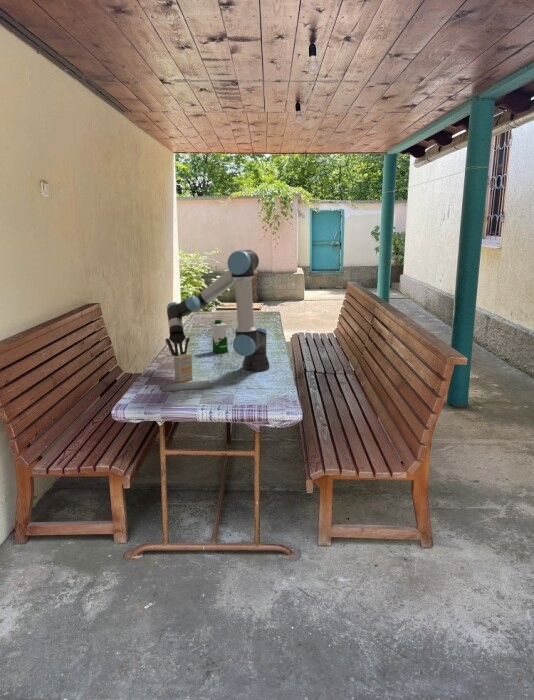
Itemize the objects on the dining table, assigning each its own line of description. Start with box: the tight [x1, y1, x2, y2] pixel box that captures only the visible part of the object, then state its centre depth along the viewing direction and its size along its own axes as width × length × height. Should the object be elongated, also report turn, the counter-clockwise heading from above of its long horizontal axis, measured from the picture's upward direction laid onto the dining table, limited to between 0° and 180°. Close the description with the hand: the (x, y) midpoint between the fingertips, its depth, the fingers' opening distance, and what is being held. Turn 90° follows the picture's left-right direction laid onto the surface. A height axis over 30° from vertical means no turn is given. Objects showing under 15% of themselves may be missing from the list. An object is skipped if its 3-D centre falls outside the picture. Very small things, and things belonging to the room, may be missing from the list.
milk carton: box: [211, 319, 229, 354], centre depth 331 cm, size 9×9×20 cm
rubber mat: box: [160, 380, 214, 393], centre depth 257 cm, size 24×12×1 cm, turn 106°
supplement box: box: [173, 353, 193, 383], centre depth 267 cm, size 8×5×13 cm, turn 141°
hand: (180, 366), depth 271 cm, fingers closed
